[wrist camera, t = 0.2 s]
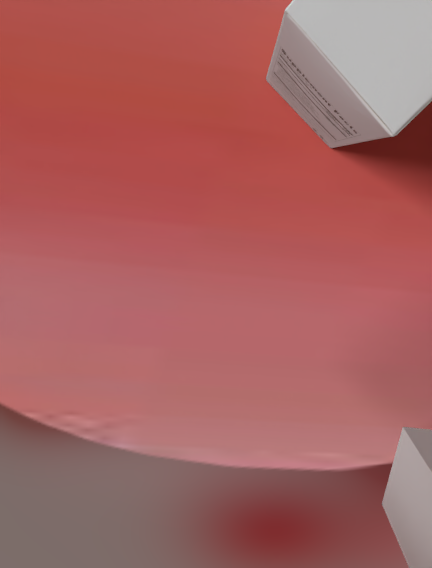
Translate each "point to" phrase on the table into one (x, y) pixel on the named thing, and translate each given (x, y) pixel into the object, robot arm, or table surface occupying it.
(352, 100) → the supplement box
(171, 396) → the table surface
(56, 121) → the table surface
